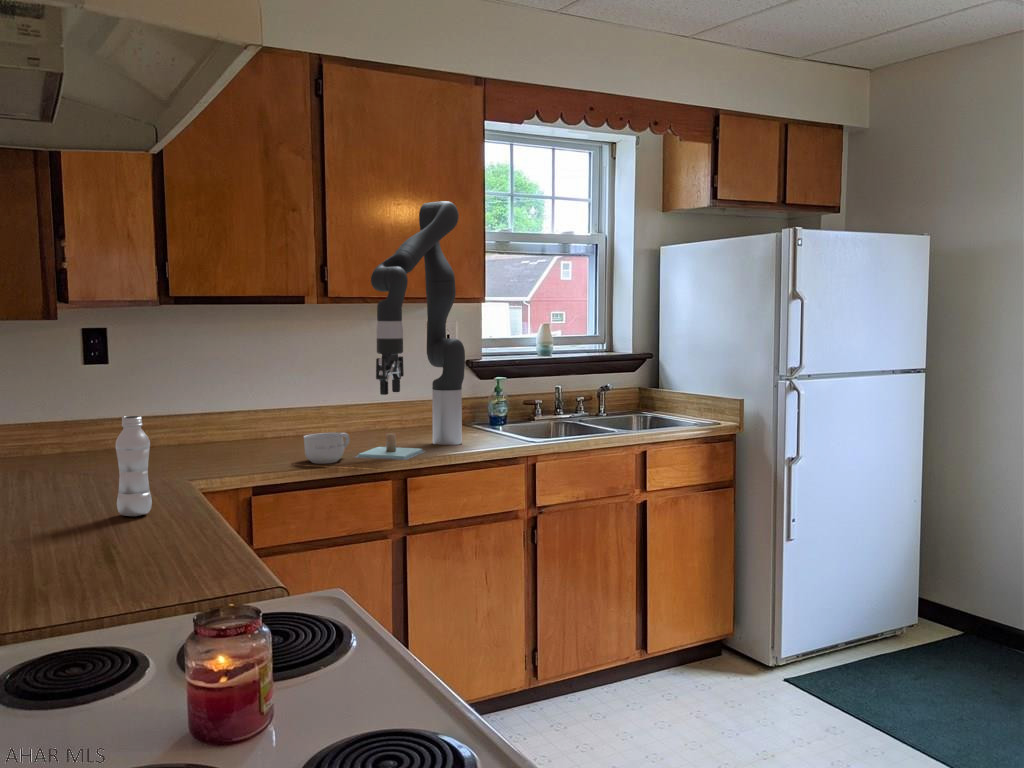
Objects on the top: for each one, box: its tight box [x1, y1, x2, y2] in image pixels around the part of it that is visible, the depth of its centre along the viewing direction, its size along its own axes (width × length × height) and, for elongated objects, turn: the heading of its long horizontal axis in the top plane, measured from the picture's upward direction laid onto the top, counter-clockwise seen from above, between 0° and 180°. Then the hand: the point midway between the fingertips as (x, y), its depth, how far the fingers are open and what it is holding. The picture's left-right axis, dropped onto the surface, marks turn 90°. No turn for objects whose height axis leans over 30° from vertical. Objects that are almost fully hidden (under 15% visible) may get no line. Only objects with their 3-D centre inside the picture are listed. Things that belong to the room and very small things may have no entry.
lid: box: [357, 433, 424, 460], centre depth 245 cm, size 14×14×6 cm
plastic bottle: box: [114, 415, 153, 517], centre depth 169 cm, size 6×7×20 cm
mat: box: [354, 450, 427, 461], centre depth 245 cm, size 16×16×1 cm
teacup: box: [302, 432, 351, 465], centre depth 233 cm, size 14×11×8 cm
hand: (390, 393), depth 244 cm, fingers open, 8 cm apart
